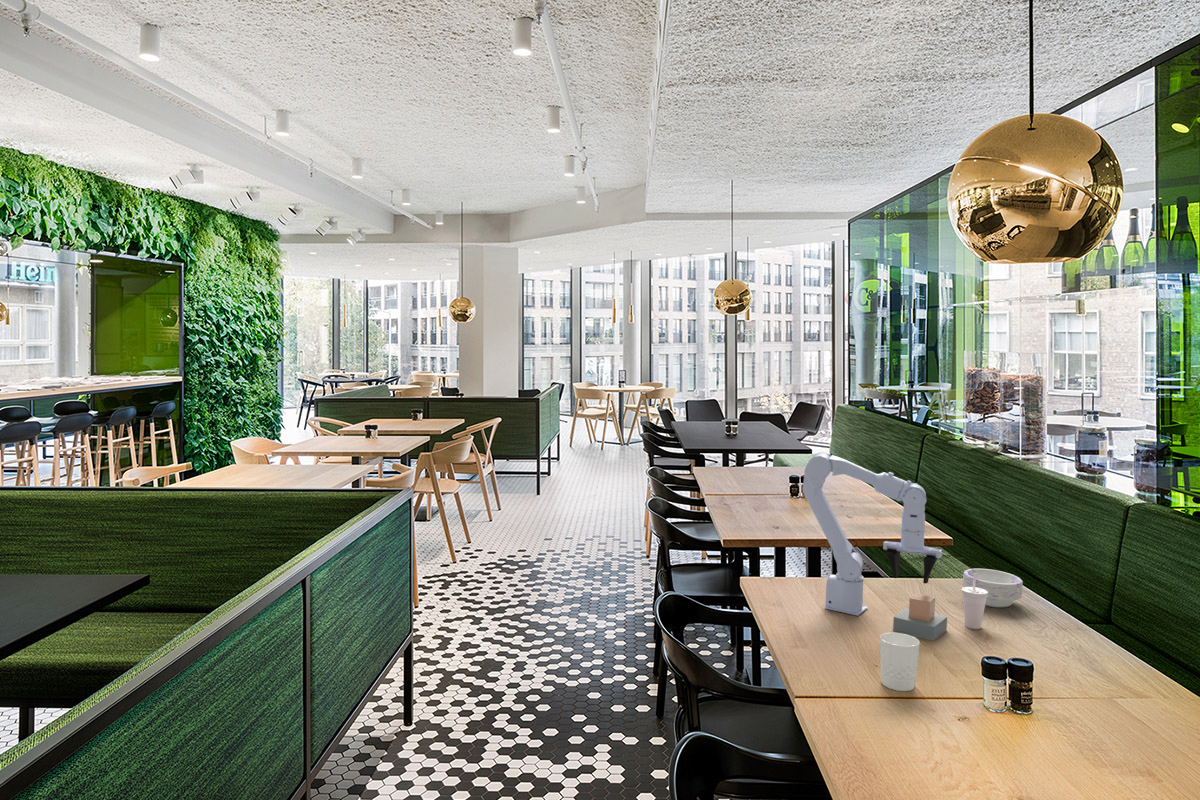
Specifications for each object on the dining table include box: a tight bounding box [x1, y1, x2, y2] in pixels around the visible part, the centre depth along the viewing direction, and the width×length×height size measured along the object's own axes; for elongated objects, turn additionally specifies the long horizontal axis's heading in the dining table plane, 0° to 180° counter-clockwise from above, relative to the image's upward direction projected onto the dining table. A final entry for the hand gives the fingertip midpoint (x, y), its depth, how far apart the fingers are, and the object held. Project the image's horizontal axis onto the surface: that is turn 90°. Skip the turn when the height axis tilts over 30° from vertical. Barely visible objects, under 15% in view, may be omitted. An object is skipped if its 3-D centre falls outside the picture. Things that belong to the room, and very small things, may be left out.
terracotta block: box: [908, 592, 936, 622], centre depth 196 cm, size 5×5×5 cm
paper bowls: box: [962, 568, 1024, 608], centre depth 219 cm, size 15×15×8 cm
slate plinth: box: [892, 607, 948, 642], centre depth 196 cm, size 10×10×4 cm
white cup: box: [879, 632, 921, 692], centre depth 163 cm, size 8×8×10 cm
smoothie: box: [960, 573, 988, 630], centre depth 199 cm, size 6×6×14 cm
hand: (910, 579), depth 204 cm, fingers open, 7 cm apart
